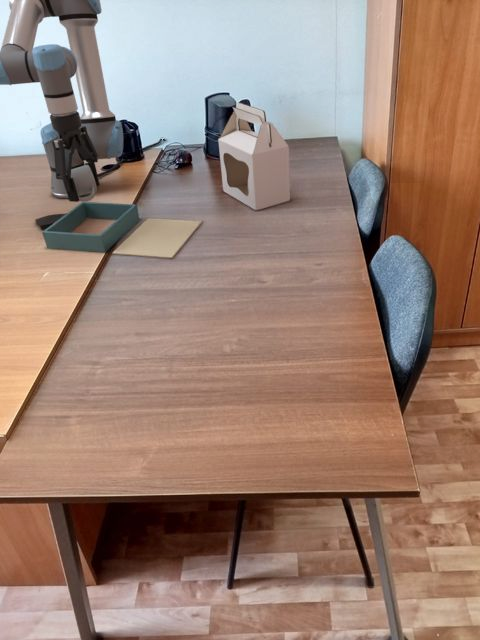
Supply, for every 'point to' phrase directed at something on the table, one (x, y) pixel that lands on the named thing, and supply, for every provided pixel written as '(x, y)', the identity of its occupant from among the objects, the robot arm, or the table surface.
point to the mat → (158, 238)
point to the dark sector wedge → (48, 220)
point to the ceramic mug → (84, 182)
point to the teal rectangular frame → (62, 239)
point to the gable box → (254, 160)
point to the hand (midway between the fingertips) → (85, 193)
